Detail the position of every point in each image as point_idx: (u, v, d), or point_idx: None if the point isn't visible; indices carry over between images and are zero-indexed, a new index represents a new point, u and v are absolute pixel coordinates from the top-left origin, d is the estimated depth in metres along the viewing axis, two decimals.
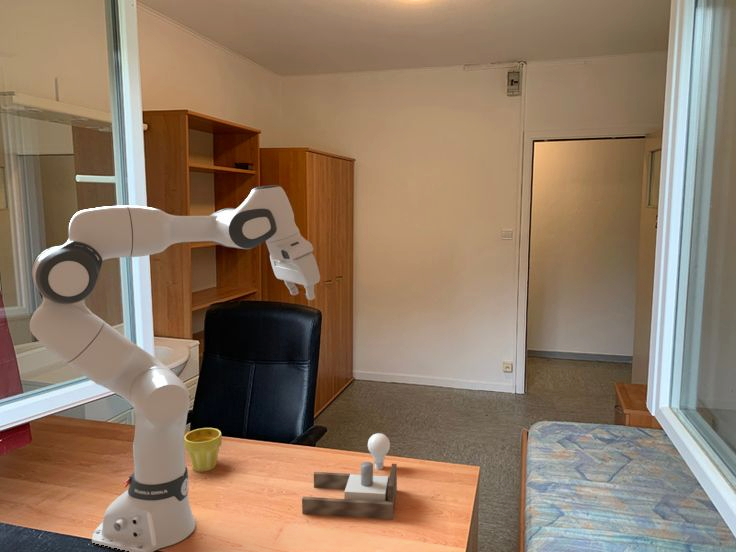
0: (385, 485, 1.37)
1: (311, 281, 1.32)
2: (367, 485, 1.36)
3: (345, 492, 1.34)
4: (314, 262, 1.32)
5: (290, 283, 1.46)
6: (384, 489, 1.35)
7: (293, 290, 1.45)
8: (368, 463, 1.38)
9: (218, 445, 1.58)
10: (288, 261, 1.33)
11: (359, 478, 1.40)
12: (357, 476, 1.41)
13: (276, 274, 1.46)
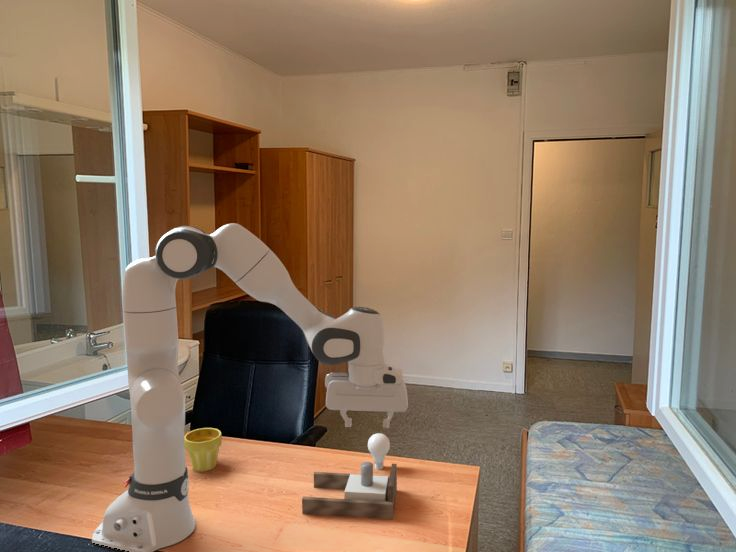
0: (385, 485, 1.37)
1: (407, 406, 1.33)
2: (367, 485, 1.36)
3: (345, 492, 1.34)
4: None
5: (345, 414, 1.36)
6: (384, 489, 1.35)
7: (350, 421, 1.36)
8: (368, 463, 1.38)
9: (218, 445, 1.58)
10: (386, 386, 1.31)
11: (359, 478, 1.40)
12: (357, 476, 1.41)
13: (332, 404, 1.34)
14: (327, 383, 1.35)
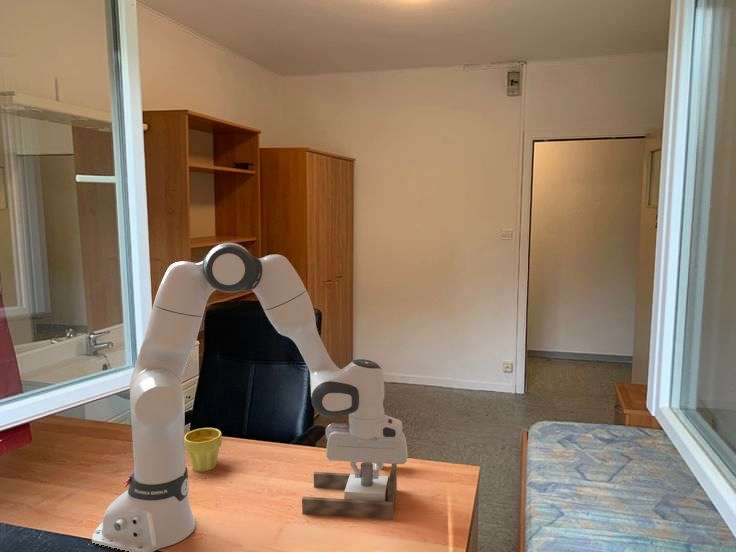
0: (385, 485, 1.37)
1: (406, 458, 1.35)
2: (367, 485, 1.36)
3: (345, 492, 1.34)
4: (405, 439, 1.37)
5: (355, 465, 1.37)
6: (384, 489, 1.35)
7: (360, 473, 1.37)
8: (368, 463, 1.38)
9: (218, 445, 1.58)
10: (386, 439, 1.33)
11: (359, 478, 1.40)
12: None
13: (332, 455, 1.36)
14: (328, 434, 1.37)
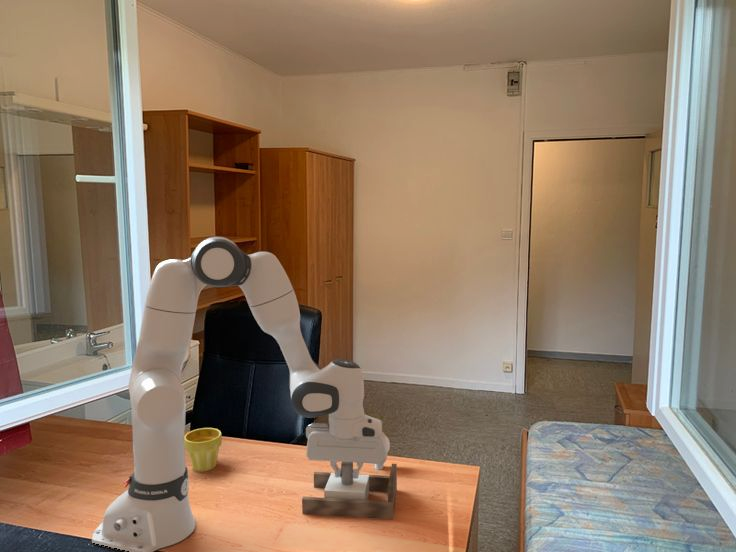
0: (365, 484, 1.37)
1: (386, 458, 1.35)
2: (347, 484, 1.37)
3: (325, 491, 1.34)
4: (385, 439, 1.37)
5: None
6: (364, 488, 1.35)
7: (340, 472, 1.38)
8: (348, 462, 1.38)
9: (218, 445, 1.58)
10: (365, 439, 1.33)
11: None
12: None
13: (313, 455, 1.36)
14: (308, 434, 1.37)
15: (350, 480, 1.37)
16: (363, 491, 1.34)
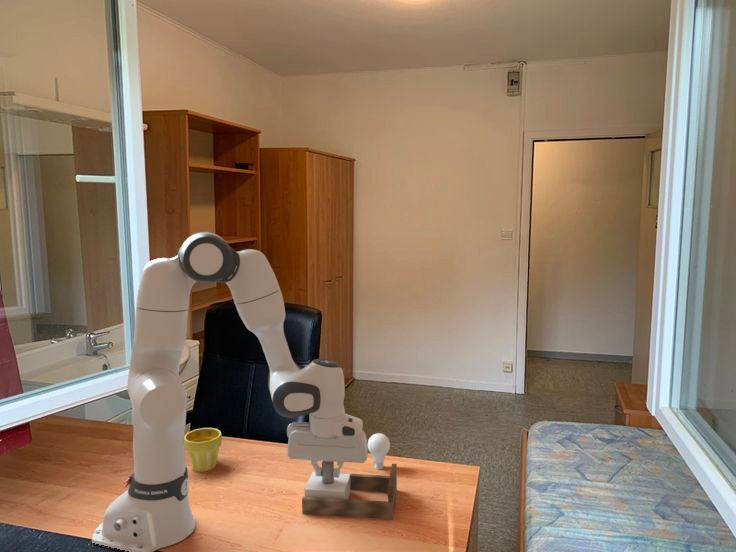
0: (346, 483, 1.38)
1: (366, 457, 1.36)
2: (328, 483, 1.37)
3: (305, 490, 1.35)
4: (366, 438, 1.38)
5: None
6: (344, 487, 1.36)
7: (321, 471, 1.38)
8: (329, 461, 1.39)
9: (218, 445, 1.58)
10: (345, 438, 1.34)
11: None
12: None
13: (293, 454, 1.37)
14: (289, 433, 1.38)
15: (331, 479, 1.37)
16: (343, 490, 1.34)
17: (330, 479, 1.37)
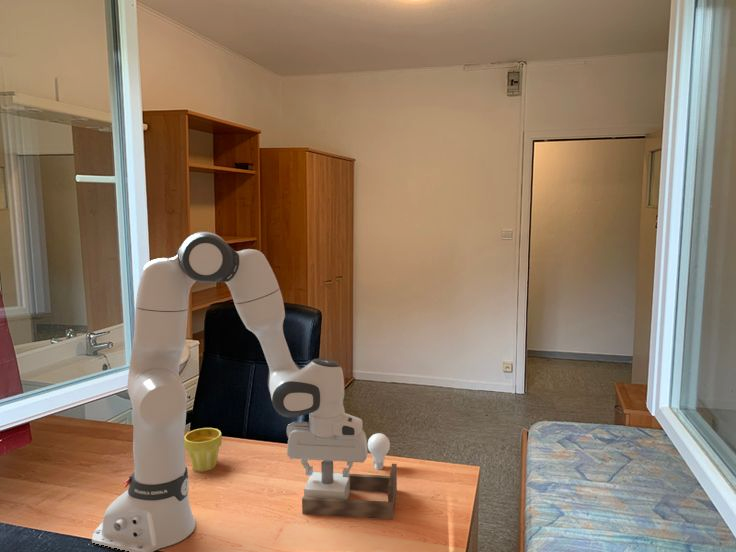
0: (345, 483, 1.38)
1: (366, 456, 1.36)
2: (327, 483, 1.37)
3: (305, 490, 1.35)
4: (365, 437, 1.38)
5: None
6: (343, 487, 1.36)
7: (311, 470, 1.38)
8: (329, 461, 1.39)
9: (218, 445, 1.58)
10: (345, 437, 1.34)
11: (320, 476, 1.41)
12: (319, 474, 1.42)
13: (293, 453, 1.37)
14: (289, 432, 1.38)
15: (330, 479, 1.37)
16: (343, 490, 1.34)
17: (330, 479, 1.37)
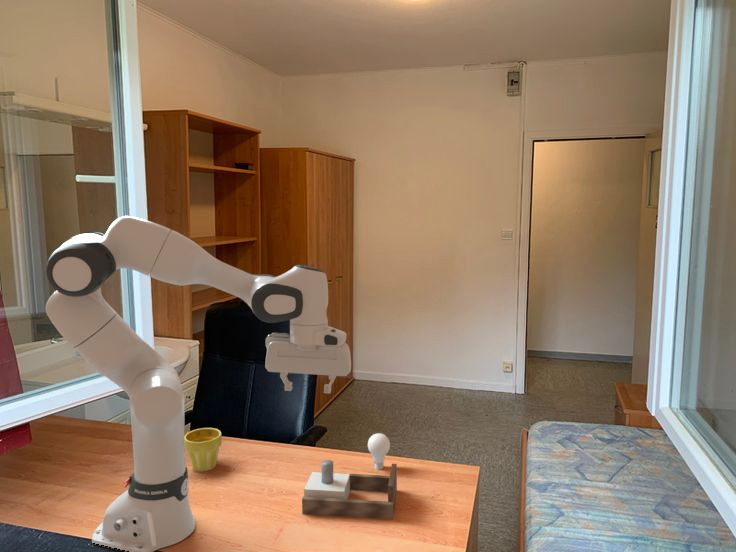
0: (345, 483, 1.38)
1: (349, 370, 1.28)
2: (327, 483, 1.37)
3: (305, 490, 1.35)
4: (349, 351, 1.30)
5: (285, 377, 1.30)
6: (343, 487, 1.36)
7: (291, 385, 1.30)
8: (329, 461, 1.39)
9: (218, 445, 1.58)
10: (328, 348, 1.26)
11: (320, 476, 1.41)
12: (319, 474, 1.42)
13: (272, 366, 1.29)
14: (268, 344, 1.30)
15: (330, 479, 1.37)
16: (343, 490, 1.34)
17: (330, 479, 1.37)
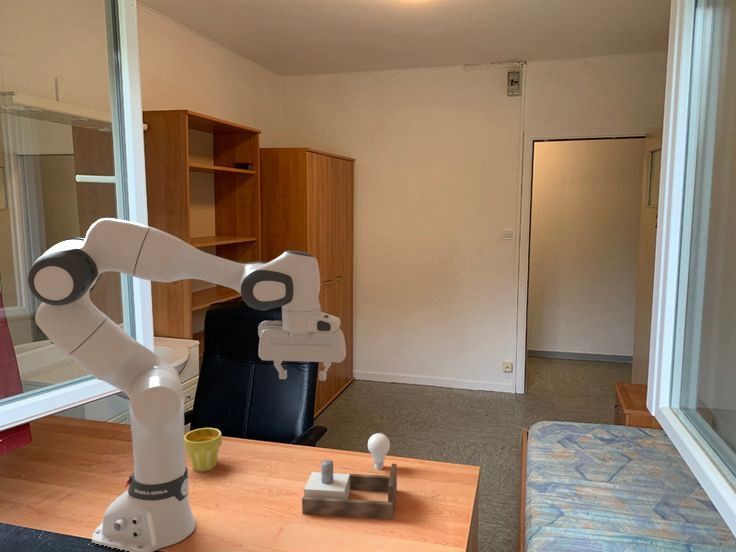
0: (345, 483, 1.38)
1: (344, 356, 1.25)
2: (327, 483, 1.37)
3: (305, 490, 1.35)
4: None
5: (279, 365, 1.28)
6: (343, 487, 1.36)
7: (285, 373, 1.28)
8: (329, 461, 1.39)
9: (218, 445, 1.58)
10: (321, 334, 1.23)
11: (320, 476, 1.41)
12: (319, 474, 1.42)
13: (265, 354, 1.26)
14: (260, 332, 1.27)
15: (330, 479, 1.37)
16: (343, 490, 1.34)
17: (330, 479, 1.37)
